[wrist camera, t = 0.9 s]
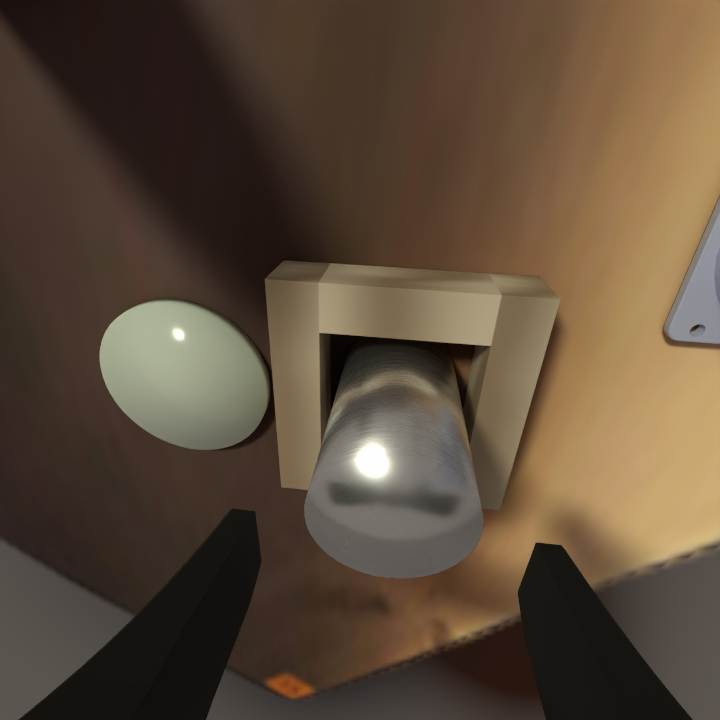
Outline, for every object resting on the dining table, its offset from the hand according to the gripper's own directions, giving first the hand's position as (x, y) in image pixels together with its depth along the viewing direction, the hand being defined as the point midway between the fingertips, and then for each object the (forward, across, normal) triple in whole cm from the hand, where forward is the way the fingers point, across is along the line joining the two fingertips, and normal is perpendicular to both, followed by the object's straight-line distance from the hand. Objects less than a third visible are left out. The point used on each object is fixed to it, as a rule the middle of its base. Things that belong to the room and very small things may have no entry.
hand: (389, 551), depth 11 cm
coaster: (+9, +10, +1) cm, 13 cm away
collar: (+9, 0, 0) cm, 9 cm away
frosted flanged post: (+9, 0, 0) cm, 9 cm away
